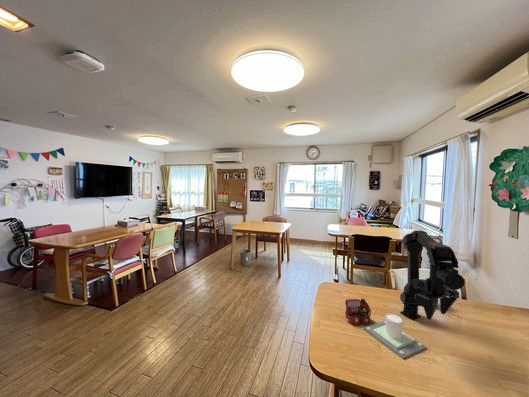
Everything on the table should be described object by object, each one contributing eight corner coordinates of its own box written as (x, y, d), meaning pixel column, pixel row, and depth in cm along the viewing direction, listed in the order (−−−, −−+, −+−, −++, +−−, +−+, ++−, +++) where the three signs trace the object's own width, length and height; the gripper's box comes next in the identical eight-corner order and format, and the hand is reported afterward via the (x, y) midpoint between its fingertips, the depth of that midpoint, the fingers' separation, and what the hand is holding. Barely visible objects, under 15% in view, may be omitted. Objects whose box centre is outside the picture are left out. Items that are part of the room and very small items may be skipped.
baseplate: (385, 322, 103) (385, 318, 103) (426, 348, 87) (426, 344, 86) (363, 329, 97) (363, 325, 97) (403, 359, 81) (403, 354, 81)
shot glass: (380, 329, 95) (381, 313, 95) (395, 328, 96) (396, 313, 95) (391, 340, 88) (392, 323, 88) (407, 339, 89) (408, 323, 88)
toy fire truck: (374, 324, 101) (375, 302, 101) (348, 325, 100) (349, 303, 99) (365, 315, 108) (366, 295, 107) (341, 316, 107) (342, 296, 106)
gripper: (430, 267, 96) (428, 301, 97) (402, 273, 89) (400, 310, 90) (461, 277, 86) (458, 315, 87) (432, 285, 79) (430, 327, 79)
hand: (435, 316), depth 86 cm, fingers open, 9 cm apart
